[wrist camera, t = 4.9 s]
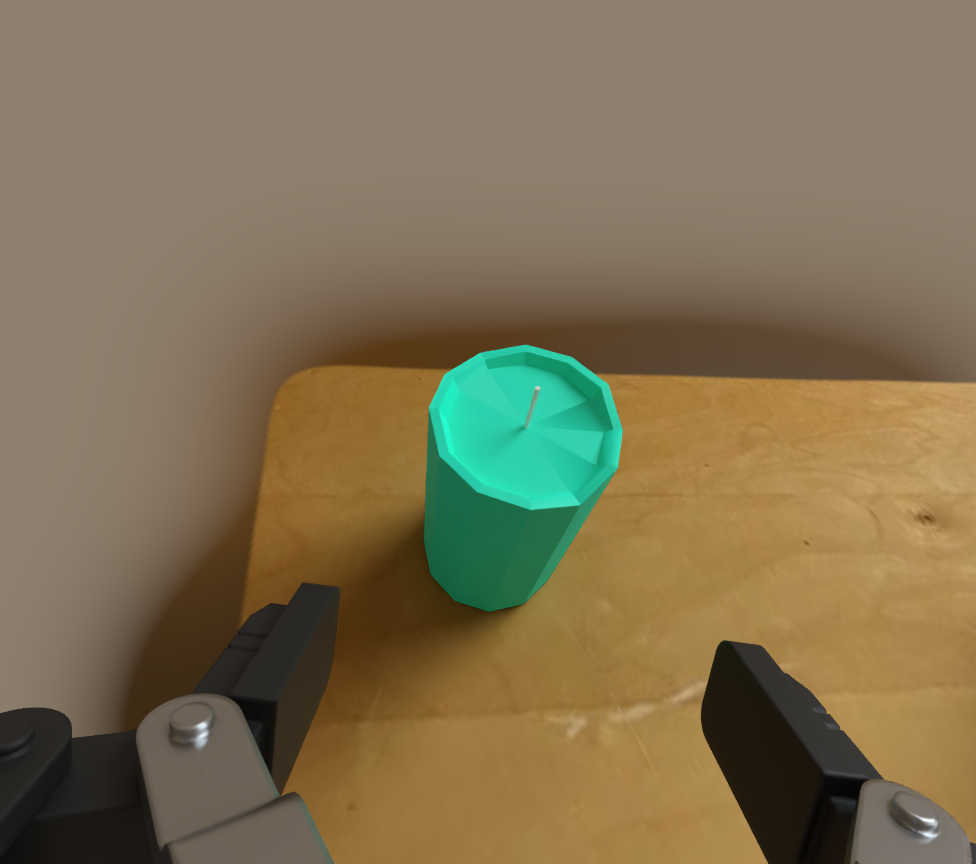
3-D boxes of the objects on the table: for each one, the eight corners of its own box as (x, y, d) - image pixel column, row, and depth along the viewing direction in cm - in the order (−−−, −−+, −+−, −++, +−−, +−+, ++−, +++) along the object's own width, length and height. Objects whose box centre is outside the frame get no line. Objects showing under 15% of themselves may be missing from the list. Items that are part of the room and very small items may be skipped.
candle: (418, 608, 24) (421, 476, 14) (428, 481, 28) (436, 300, 17) (558, 615, 25) (657, 491, 15) (552, 489, 28) (629, 317, 18)
